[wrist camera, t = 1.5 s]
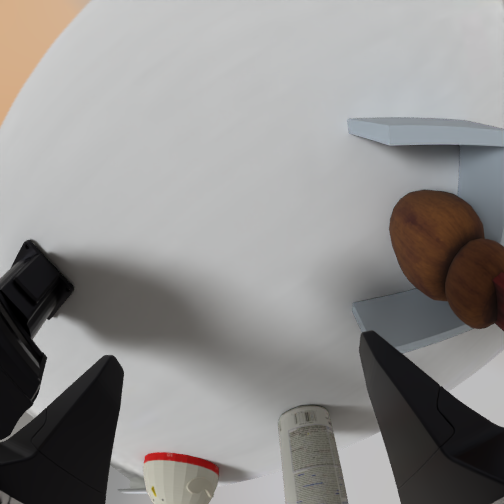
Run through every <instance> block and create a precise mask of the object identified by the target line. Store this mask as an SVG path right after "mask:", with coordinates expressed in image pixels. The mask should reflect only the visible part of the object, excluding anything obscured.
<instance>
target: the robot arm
mask: <svg viewBox="0 0 504 504" xmlns="http://www.w3.org/2000/svg"><path fill="white" fill-rule="evenodd" d="M28 246H29V247H28ZM68 288H69V289H70V290H69V289H68ZM73 291H74V287H73V286H72V284H71V283H70V282H69V281H68V280H67V279H66V278H65V277H64V276H63V275H62V274H61V273H60V272H59V271H58V270H57V269H56V268H55V267H54V266H53V265H52V264H51V263H50V262H49V261H48V260H47V259H46V258H45V256H44V255H43V254H42V253H41V252H40V251H39V250H38V249H37V248H36V246H35V245H34V244H33V243H32V242H31V241H30V240H27V241H25V242H24V243H23V245H22V247H21V249H20V251H19V253H18V255H17V257H16V259H15V261H14V263H13V265H12V267H11V269H10V270H9V271H7V272H6V273H5V274H4V275H3V276H2V277H1V278H0V440H2V439H4V438H6V437H7V436H9V435H10V434H11V432H12V430H13V429H14V427H15V425H16V423H17V421H18V420H19V418H20V417H21V416H22V415H23V413H24V412H25V411H26V410H28V409H29V408H30V407H31V406H32V405H33V402H34V401H35V399H36V397H37V395H38V393H39V389H40V385H41V380H42V376H43V372H44V368H45V364H46V360H47V357H46V355H45V354H44V353H43V352H41V350H40V349H39V348H38V347H37V345H36V344H35V343H34V341H33V338H34V337H35V335H36V334H37V332H38V331H39V329H40V328H41V326H42V325H43V323H44V322H45V320H46V319H48V320H50V319H51V318H52V316H53V315H54V314H55V313H56V311H57V310H58V309H59V308H60V307H61V305H62V304H63V303H64V302H65V301H66V299H67V298H68V297H69V296H70V295H71V294H72V292H73ZM359 353H360V358H361V363H362V367H363V372H364V376H365V381H366V386H367V390H368V394H369V397H370V400H371V403H372V406H373V409H374V412H375V415H376V418H377V421H378V424H379V427H380V431H381V434H382V437H383V440H384V443H385V447H386V450H387V453H388V457H389V460H390V464H391V467H392V471H393V474H394V477H395V482H396V485H397V489H398V493H399V497H400V501H401V504H504V427H500V426H498V425H496V424H494V423H492V422H490V421H489V420H487V419H486V418H484V417H483V416H481V415H480V414H478V413H477V412H475V411H474V410H472V409H471V408H469V407H467V406H466V405H465V404H463V403H462V402H460V401H459V400H458V399H456V398H455V397H454V396H453V395H451V394H450V393H449V392H448V391H446V390H445V389H444V388H443V387H442V386H440V385H439V384H438V383H437V382H436V381H434V380H433V379H432V378H431V377H430V376H428V375H427V374H426V373H425V372H424V371H422V370H421V369H420V368H419V367H418V366H416V365H415V364H414V363H413V362H411V361H410V360H409V359H408V358H407V357H405V356H404V355H403V354H402V353H401V352H399V351H398V350H397V349H396V348H395V347H393V346H392V345H391V344H390V343H388V342H387V341H386V340H385V339H384V338H382V337H381V336H380V335H379V334H377V333H376V332H375V331H373V330H369V331H364V332H362V333H361V337H360V346H359ZM123 378H124V371H123V368H122V367H121V365H120V364H119V362H118V361H117V359H116V357H115V356H113V355H104V356H103V357H102V358H101V359H99V360H98V361H97V362H96V363H95V364H94V365H93V366H92V367H90V368H89V369H88V370H87V371H86V372H85V373H84V374H83V375H82V376H81V377H79V378H78V379H77V380H76V381H75V382H74V383H73V384H72V385H71V386H69V387H68V388H67V389H66V390H65V391H64V392H63V393H62V394H61V395H60V396H59V397H57V398H56V399H55V400H54V401H53V402H52V403H51V404H50V405H49V406H48V407H47V408H45V409H44V410H43V411H42V412H41V413H40V414H39V415H38V416H37V417H36V418H34V419H33V420H32V421H31V422H30V423H28V424H27V425H26V426H25V427H23V428H22V429H21V430H20V431H18V432H17V433H16V434H14V435H13V436H12V437H11V438H9V439H8V440H6V441H4V442H0V504H105V500H106V490H107V482H108V475H109V468H110V461H111V455H112V449H113V443H114V437H115V432H116V426H117V421H118V416H119V411H120V405H121V396H122V387H123Z"/></svg>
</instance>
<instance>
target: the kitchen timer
mask: <svg viewBox="0 0 504 504" xmlns="http://www.w3.org/2000/svg"><path fill="white" fill-rule="evenodd" d="M143 473H144V480H145V485H146V491H147V493H148V495H149V497H150V498H151V500H152V502H153V503H154V504H208V503H209V502H210V500H211V499H212V497H213V495H214V491H215V489H216V487H217V483H218V478H219V468H218V467H217V466H216V465H215V464H213V463H211V462H209V461H207V460H204V459H201V458H197V457H193V456H189V455H183V454H177V453H165V452H163V453H151V454H148V455H146V456H145V460H144V466H143Z"/></svg>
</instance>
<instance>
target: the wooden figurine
mask: <svg viewBox="0 0 504 504" xmlns="http://www.w3.org/2000/svg"><path fill="white" fill-rule="evenodd" d="M389 231H390V236H391V241H392V246H393V249H394V251H395V254H396V257H397V260H398V263H399V265H400V267H401V269H402V271H403V273H404V275H405V276H406V277H407V279H408V280H409V281H410V282H411V283H412V284H413V285H414V286H415V287H416V288H417V289H418V290H420V291H421V292H422V293H423V294H425V295H426V296H428V297H429V298H431V299H433V300H438V301H448V303H449V306H450V308H451V309H452V311H453V312H454V313H455V314H456V316H457V317H458V318H459V319H460V320H461V321H462V322H464V323H465V324H466V325H468V326H470V327H471V328H476V329H482V328H486V327H488V326H490V325H492V324H494V323H495V324H496V325H498V326H499V327H500V328H501V329H502V330H503V331H504V247H503V246H502V245H501V244H499V243H498V242H496V241H494V240H490V239H485V236H484V228H483V223H482V222H481V220H480V218H479V216H478V215H477V213H476V212H475V211H474V209H473V208H472V206H471V205H470V204H468V203H467V202H466V201H464V200H463V199H462V198H460V197H458V196H456V195H454V194H452V193H447V192H443V191H432V190H421V191H415V192H411V193H408V194H407V195H405V196H404V197H403V198H401V199H400V200H399V202H398V203H397V204H396V206H395V207H394V209H393V212H392V215H391V218H390V227H389Z"/></svg>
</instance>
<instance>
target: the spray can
mask: <svg viewBox="0 0 504 504" xmlns="http://www.w3.org/2000/svg"><path fill="white" fill-rule="evenodd" d="M278 430H279V440H280V450H281V460H282V471H283V480H284V492H285V503H286V504H348V499H347V494H346V489H345V484H344V479H343V474H342V469H341V465H340V461H339V456H338V451H337V446H336V442H335V437H334V433H333V429H332V424H331V420H330V416H329V413H328V411H327V410H326V409H325V408H323V407H321V406H314V405H308V406H299V407H297V408H294V409H291V410H289V411H287V412H285V413H283V414H282V416H281V417H280V419H279V422H278Z"/></svg>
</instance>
